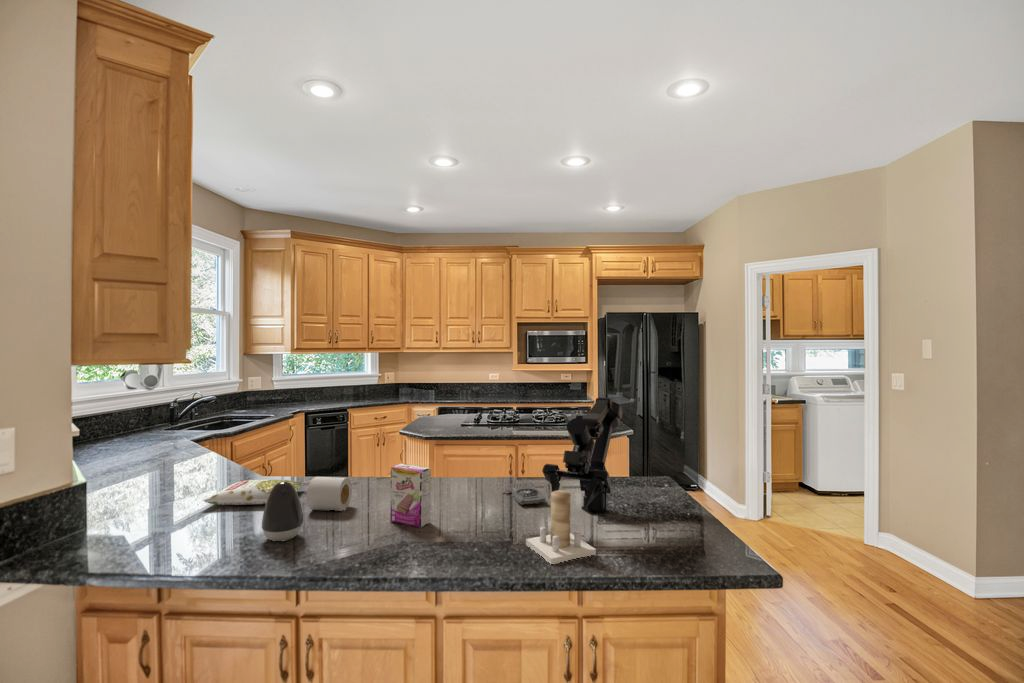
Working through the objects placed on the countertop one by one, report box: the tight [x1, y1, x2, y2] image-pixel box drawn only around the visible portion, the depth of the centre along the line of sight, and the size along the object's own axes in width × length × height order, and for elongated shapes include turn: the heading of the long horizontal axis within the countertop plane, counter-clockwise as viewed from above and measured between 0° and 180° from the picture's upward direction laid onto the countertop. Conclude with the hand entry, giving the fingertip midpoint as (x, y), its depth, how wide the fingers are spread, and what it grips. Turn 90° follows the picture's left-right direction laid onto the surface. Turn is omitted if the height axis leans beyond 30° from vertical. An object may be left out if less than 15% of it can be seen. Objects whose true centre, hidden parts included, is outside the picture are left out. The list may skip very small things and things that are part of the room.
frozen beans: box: [201, 479, 305, 506], centre depth 167 cm, size 21×6×25 cm
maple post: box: [550, 489, 572, 548], centre depth 129 cm, size 5×5×13 cm
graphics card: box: [501, 482, 546, 505], centre depth 170 cm, size 17×4×12 cm
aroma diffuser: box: [261, 481, 304, 542], centre depth 135 cm, size 10×10×15 cm
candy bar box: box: [389, 463, 431, 528], centre depth 147 cm, size 11×5×16 cm, turn 65°
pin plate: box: [525, 526, 597, 565], centre depth 129 cm, size 13×13×5 cm
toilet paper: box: [306, 476, 353, 512], centre depth 158 cm, size 10×10×10 cm
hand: (569, 503), depth 135 cm, fingers open, 9 cm apart
